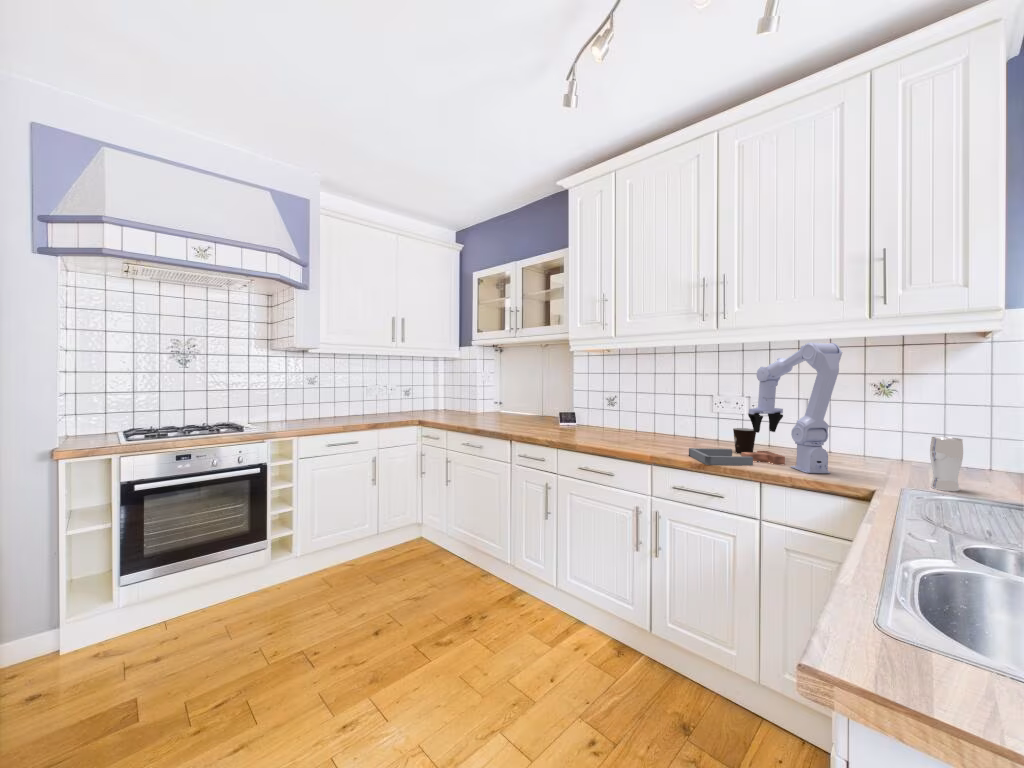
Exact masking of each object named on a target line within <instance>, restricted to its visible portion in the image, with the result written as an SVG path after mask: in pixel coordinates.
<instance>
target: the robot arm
mask: <svg viewBox="0 0 1024 768" xmlns="http://www.w3.org/2000/svg"><path fill="white" fill-rule="evenodd" d="M842 351H843V350H841V348H840V346H839V345H838V344H837V343H835V342H829V343H826V342H822V343H820V342H810V341H809V342H807V343H805V344H803V345H801V346H800V348H799V349H798V350H797V351H796V352H794V353H792V354H791V355H790V356H788V357H787V358H785V357H778V358H777V359H776V361H774V362H772V363H769V364H768V365H767V366H760V367H759V368H758V369H757V371H756V379H757V380H758V381H759V383H758V386H759V387H758V397H757V398H758V400H757V407H754V408H748V413H747V414H748V418H749V420H750V421H751V425H752V429H753V430H754V432H756V434H757V433H760V430H761V424H762V421H763V418H764V416H763V414H765V415H766V414H767V416H768V421H769V422H768V423H769V425H768V430H769V432H770V433H776V430H777V427H778V425H779V423H780V421H781V420H782V419H783V417H784V414H783V413H784V408H779V407H776V391H777V387H778V384H779V381H780V380H781V377H782V376H784V375H786V374H788V373H790V372H791V371H792V370H793V368H794V366H797V365H799V364H801V363H803V362H806V363H807V364H808V365H809V366H810V367H811V368H812V369H814V370H815V371H816V373H817V374H816V377H815V380H814V383H813V386H812V391H811V393H810V397H809V401H808V403H807V406H806V407H807V408H806V410H805V412H804V415H803V416H802V417H801V418H799V419H798V420H796V424H795V425H794V426H793V427H792V429H791V439H792V440H793V441H794V444H796V465H790V468H792V469H794V470H798V471H800V472H803V473H805V474H831V471H829V454H828V451H827V450H826V449H825V448H823V446H824V445H825V443H826V442H827V440H828V438H829V428H830V425H829V423H827V421H825V416H826V413H827V412H828V407H829V403H830V401H831V397H832V394H833V391H834V388H835V385H836V382H837V378H838V376H839V372H840V361H841V358H842V354H843V352H842Z"/></svg>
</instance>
